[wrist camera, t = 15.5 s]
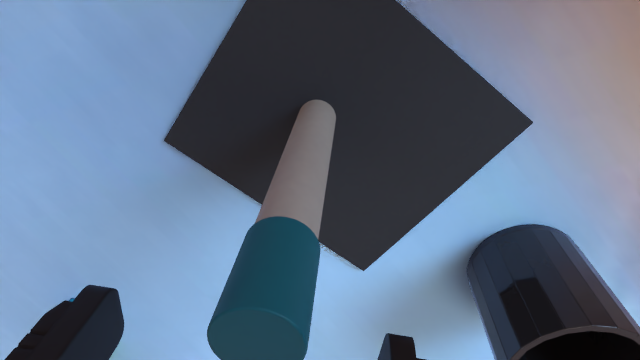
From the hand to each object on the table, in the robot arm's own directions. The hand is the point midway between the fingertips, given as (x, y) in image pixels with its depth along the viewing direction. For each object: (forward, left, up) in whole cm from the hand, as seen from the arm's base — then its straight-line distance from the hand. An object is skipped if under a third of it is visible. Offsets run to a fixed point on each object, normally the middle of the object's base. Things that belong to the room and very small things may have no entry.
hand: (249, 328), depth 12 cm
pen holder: (+22, 0, -19) cm, 29 cm away
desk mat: (+2, 0, -19) cm, 19 cm away
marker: (0, 0, -19) cm, 19 cm away
